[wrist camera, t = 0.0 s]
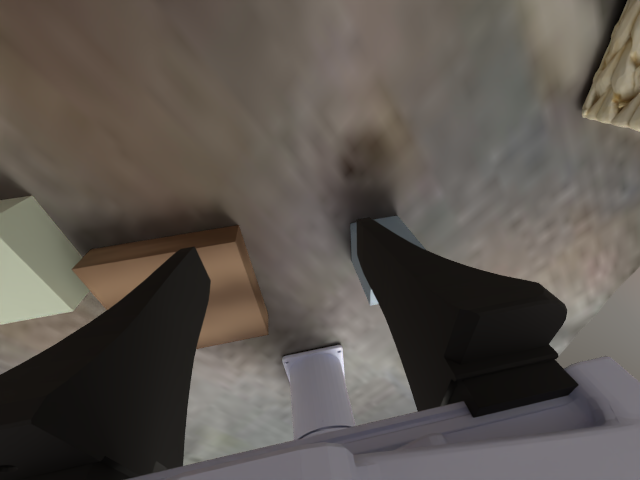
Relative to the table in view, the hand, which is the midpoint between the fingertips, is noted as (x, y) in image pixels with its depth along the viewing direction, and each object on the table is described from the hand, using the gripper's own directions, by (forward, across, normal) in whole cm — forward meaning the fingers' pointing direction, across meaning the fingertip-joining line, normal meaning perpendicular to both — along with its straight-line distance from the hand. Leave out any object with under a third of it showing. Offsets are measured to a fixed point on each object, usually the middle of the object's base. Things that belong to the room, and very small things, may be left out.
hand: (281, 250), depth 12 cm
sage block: (+10, +21, +3) cm, 24 cm away
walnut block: (+11, +10, +10) cm, 18 cm away
